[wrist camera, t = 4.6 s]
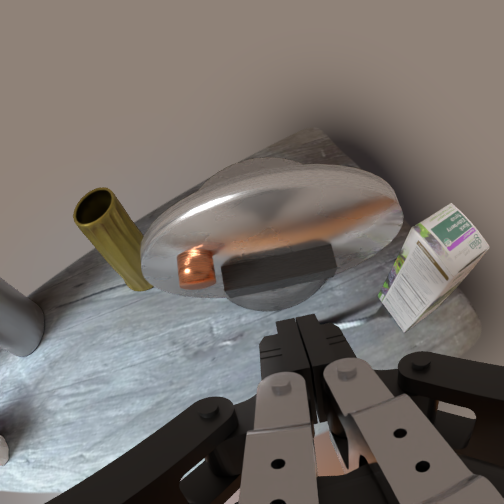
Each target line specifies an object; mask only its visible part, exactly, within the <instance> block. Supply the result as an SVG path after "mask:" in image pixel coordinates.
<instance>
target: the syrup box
mask: <svg viewBox="0 0 504 504" xmlns="http://www.w3.org/2000/svg"><path fill="white" fill-rule="evenodd" d="M489 248H490V246H489V245H488V243H487V242H486V241H485V239H484V238H483V236H482V235H481V234H480V232H479V231H478V230H477V229H476V227H475V226H474V225H473V224H472V223H471V221H470V220H469V219H468V218H467V217H466V216H465V215H464V214H463V213H462V212H461V211H460V210H459V209H458V208H457V207H455V206H454V205H453V204H452V203H450V204H449V205H447V206H445V207H444V208H442V209H441V210H439V211H438V212H436V213H434V214H433V215H431V216H430V217H428V218H427V219H425V220H423V221H422V222H420V223H418V224H417V225H415V226H413V227H412V228H411V230H410V231H409V234H408V236H407V238H406V240H405V243H404V245H403V247H402V249H401V251H400V253H399V255H398V257H397V259H396V261H395V263H394V265H393V267H392V269H391V271H390V273H389V275H388V277H387V279H386V281H385V283H384V285H383V287H382V289H381V291H380V292H379V294H378V297H379V299H380V300H381V302H382V303H383V304H384V306H385V307H386V308H387V310H388V311H389V313H390V314H391V315H392V317H393V318H394V319H395V321H396V322H397V324H398V325H399V326H400V328H401V329H402V330H403V332H404V333H405V332H407V331H408V330H410V329H411V328H412V327H413V326H415V325H416V324H417V323H419V322H420V321H421V320H423V319H424V318H425V317H426V316H428V315H429V314H430V313H432V312H433V311H434V310H435V309H437V308H438V307H439V306H440V305H441V304H442V303H443V302H444V301H445V300H446V298H447V297H448V296H449V295H450V294H451V293H452V292H453V291H454V290H455V289H456V287H457V286H458V285H459V284H460V283H461V282H462V281H463V280H464V278H465V277H466V276H467V275H468V274H469V273H470V271H471V270H472V269H473V268H474V267H475V265H476V264H477V263H478V261H479V260H480V259H481V258H482V257H483V255H484V254H485V253H486V252H487V251H488V249H489Z"/></svg>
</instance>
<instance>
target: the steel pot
mask: <svg viewBox="0 0 504 504" xmlns="http://www.w3.org/2000/svg"><path fill="white" fill-rule="evenodd" d="M290 165H304V164H301V163H299V162H296V161H293V160H288V159H283V158H273V157H265V158H255V159H249V160H245V161H241V162H238V163H235V164H233V165H231V166H228V167H226V168H224V169H223V170H221V171H219V172H218V173H216V174H215V175H213V176H212V177H211V178H210V179H209V180H207V181H206V182H205V183H204V184H203V186H202V187H201V188H200V189H199V190H198V191H200V190H202V189H204V188H206V187H208V186H211V185H213V184H215V183H218V182H221V181H224V180H227V179H230V178H233V177H236V176H239V175H243V174H247V173H251V172H255V171H259V170H264V169H270V168H276V167H283V166H290ZM325 279H326V278H325ZM325 279H321V280H318V281H315V282H312V283H309V284H305V285H302V286H298V287H294V288H290V289H286V290H281V291H276V292H271V293H265V294H259V295H252V296H243V297H234V298H227V299H228V300H230V301H231V302H233V303H235V304H237V305H238V306H241V307H244V308H246V309H251V310H255V311H278V310H283V309H287V308H290V307H293V306H295V305H298V304H300V303H301V302H303V301H305V300H306V299H308V298H309V297H310V296H312V295H313V294H314V293H315V292H316V291H317V290H318V289H319V288H320V286H321V285H322V284H323V283H324V281H325Z"/></svg>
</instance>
